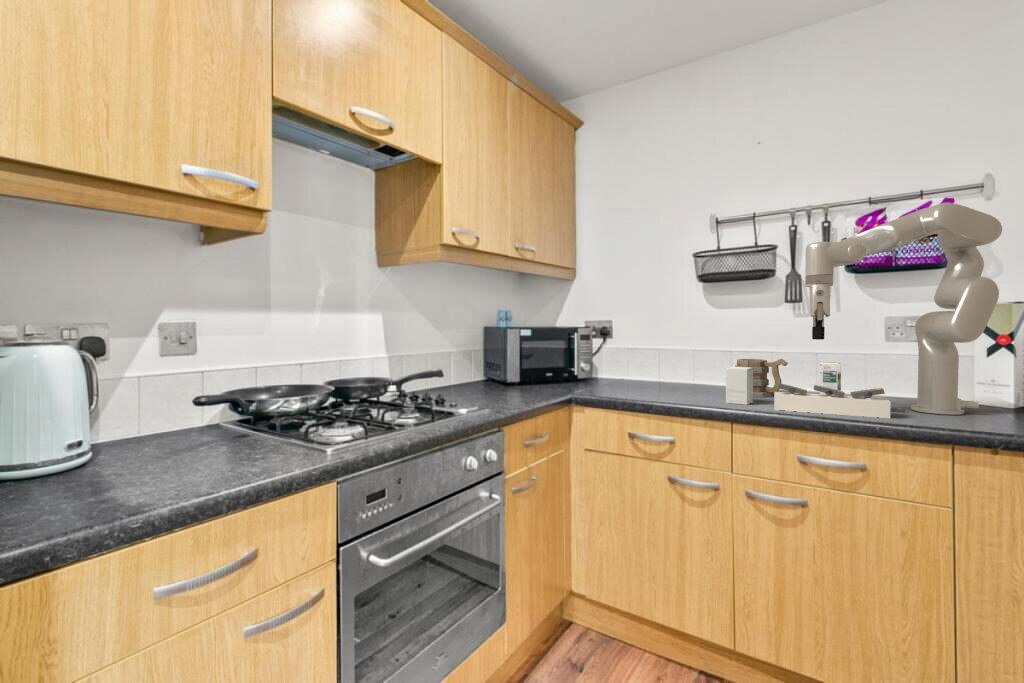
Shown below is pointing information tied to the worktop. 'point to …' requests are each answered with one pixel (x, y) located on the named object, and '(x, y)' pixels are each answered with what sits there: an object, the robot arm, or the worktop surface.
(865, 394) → the rocker
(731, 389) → the supplement box
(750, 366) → the tankard
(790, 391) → the rocker
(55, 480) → the worktop surface
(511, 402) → the worktop surface
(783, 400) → the power strip
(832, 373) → the syrup box
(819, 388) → the rocker
